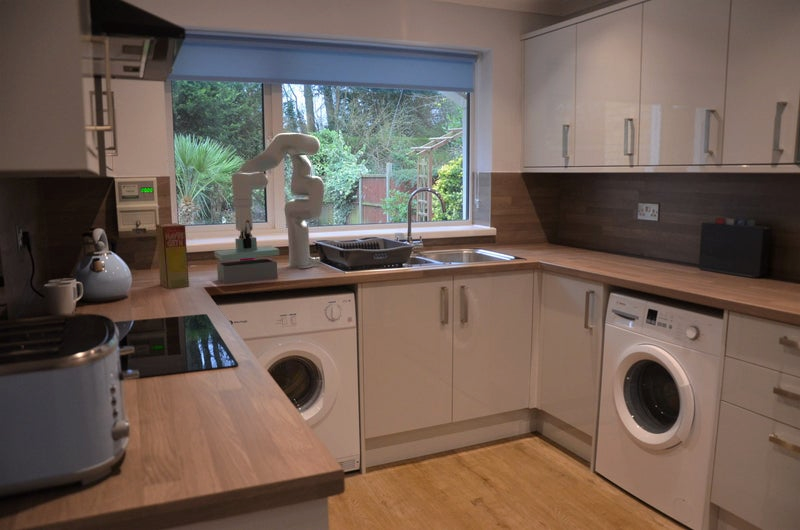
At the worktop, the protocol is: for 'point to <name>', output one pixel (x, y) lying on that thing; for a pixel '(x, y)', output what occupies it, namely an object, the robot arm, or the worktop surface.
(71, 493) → the worktop surface
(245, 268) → the tub
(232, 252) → the lid
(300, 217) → the robot arm
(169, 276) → the food packaging
